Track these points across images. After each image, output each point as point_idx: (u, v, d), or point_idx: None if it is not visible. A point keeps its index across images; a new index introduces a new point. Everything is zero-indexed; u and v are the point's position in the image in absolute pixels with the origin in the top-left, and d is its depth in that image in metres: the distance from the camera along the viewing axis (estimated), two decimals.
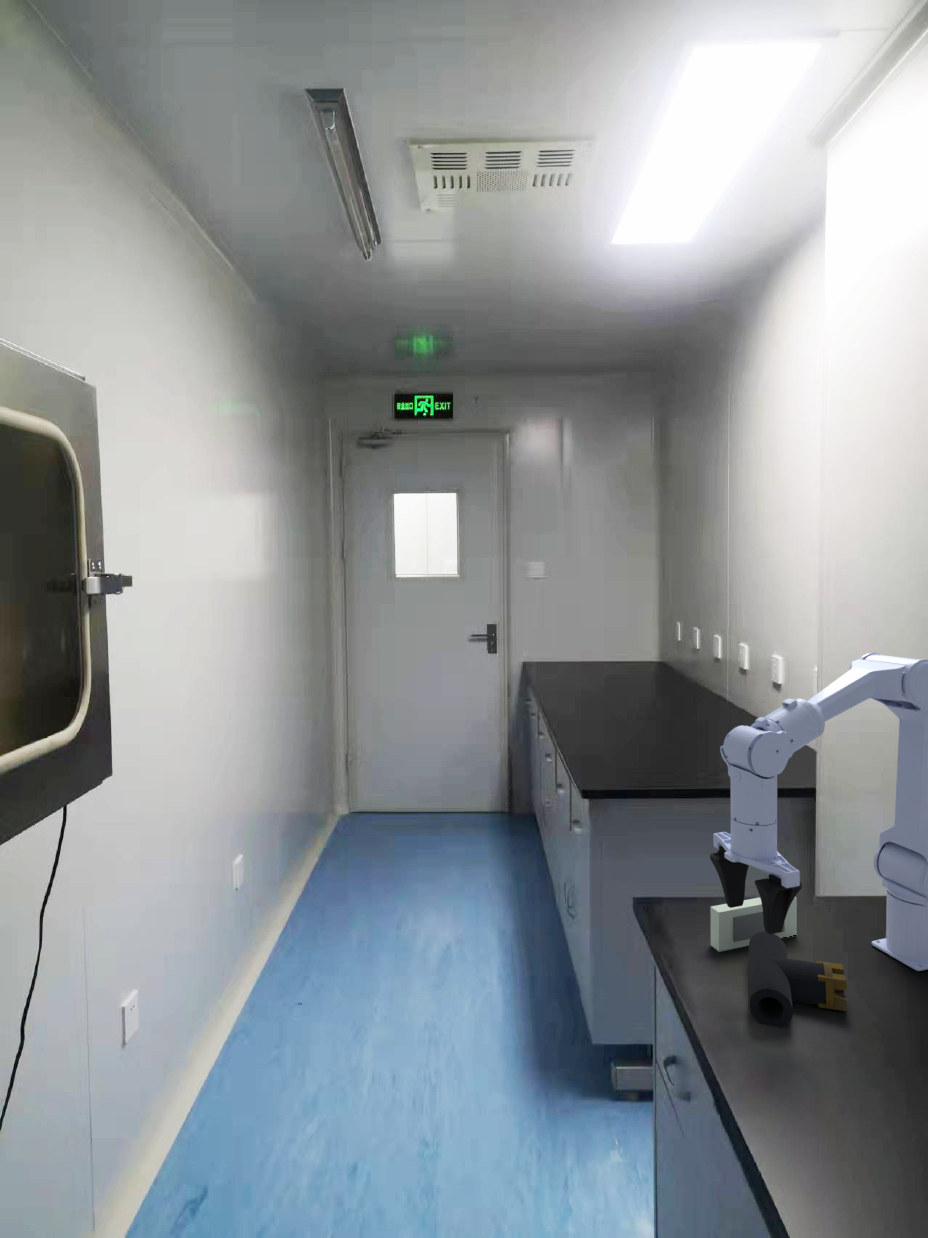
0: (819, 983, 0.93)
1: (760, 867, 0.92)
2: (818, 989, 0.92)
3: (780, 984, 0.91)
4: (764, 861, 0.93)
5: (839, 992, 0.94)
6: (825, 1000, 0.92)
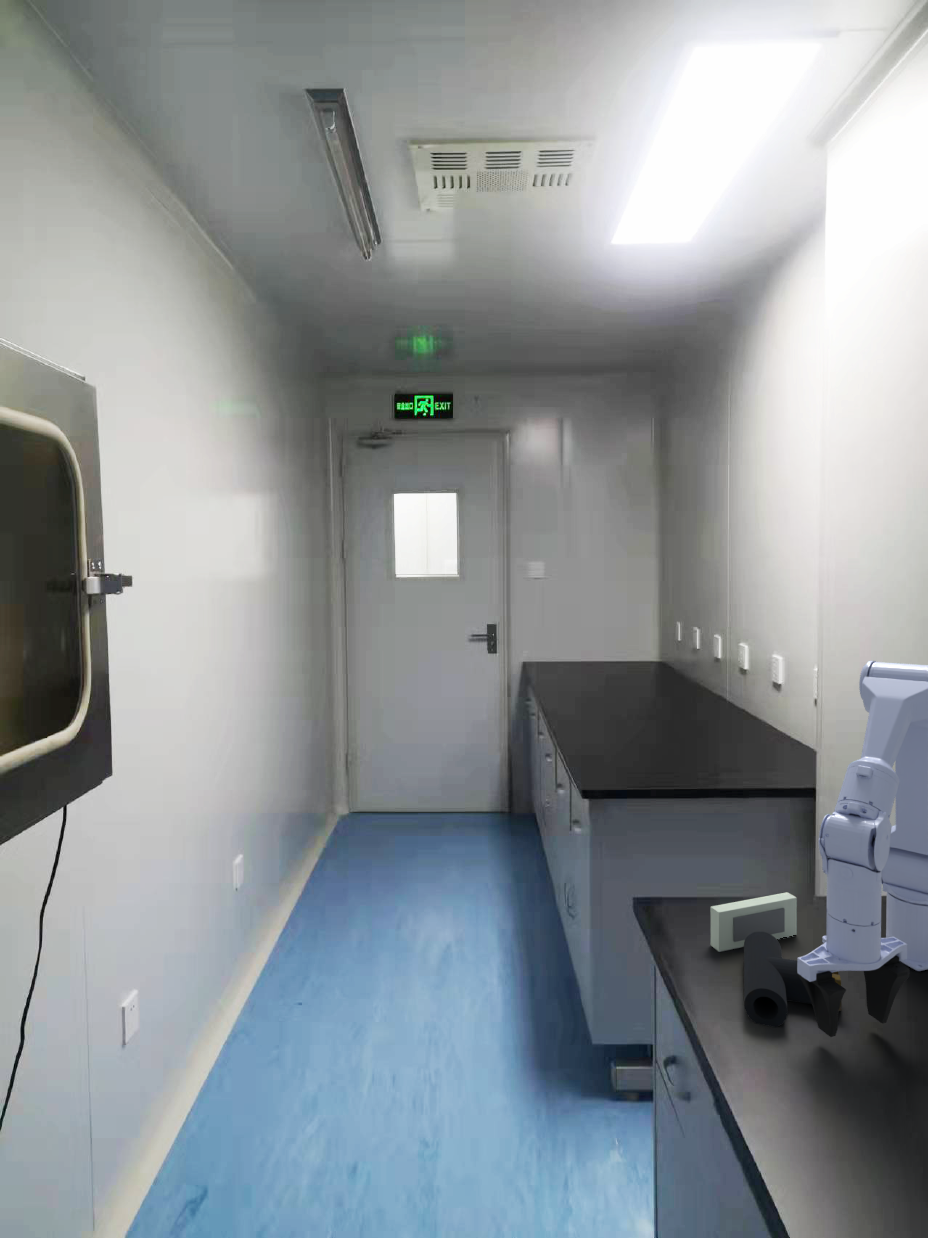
0: None
1: (815, 952, 0.87)
2: None
3: (775, 983, 0.91)
4: (828, 953, 0.86)
5: None
6: None
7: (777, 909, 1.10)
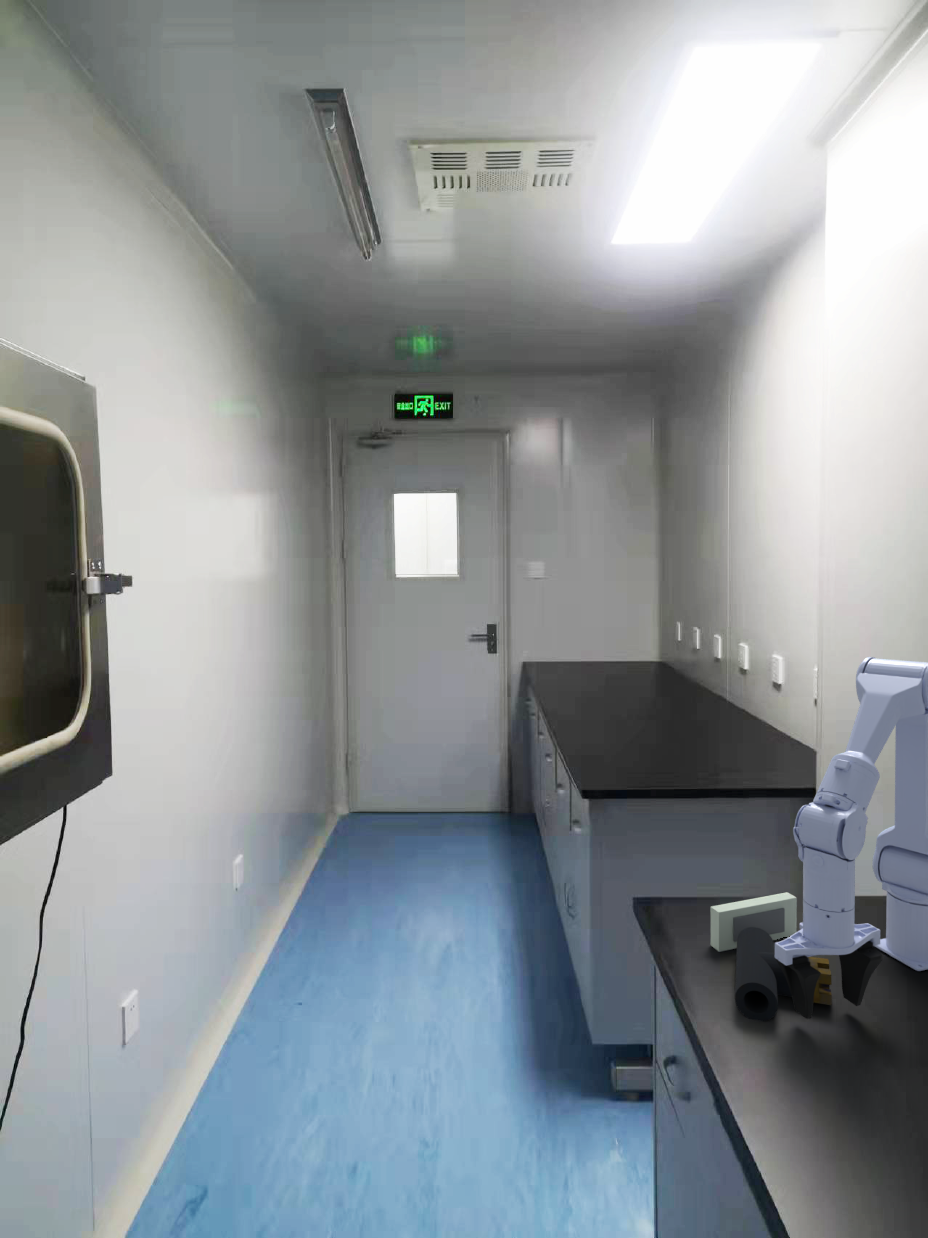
0: None
1: None
2: None
3: (765, 978, 0.92)
4: (804, 939, 0.90)
5: (825, 986, 0.96)
6: None
7: (777, 909, 1.10)
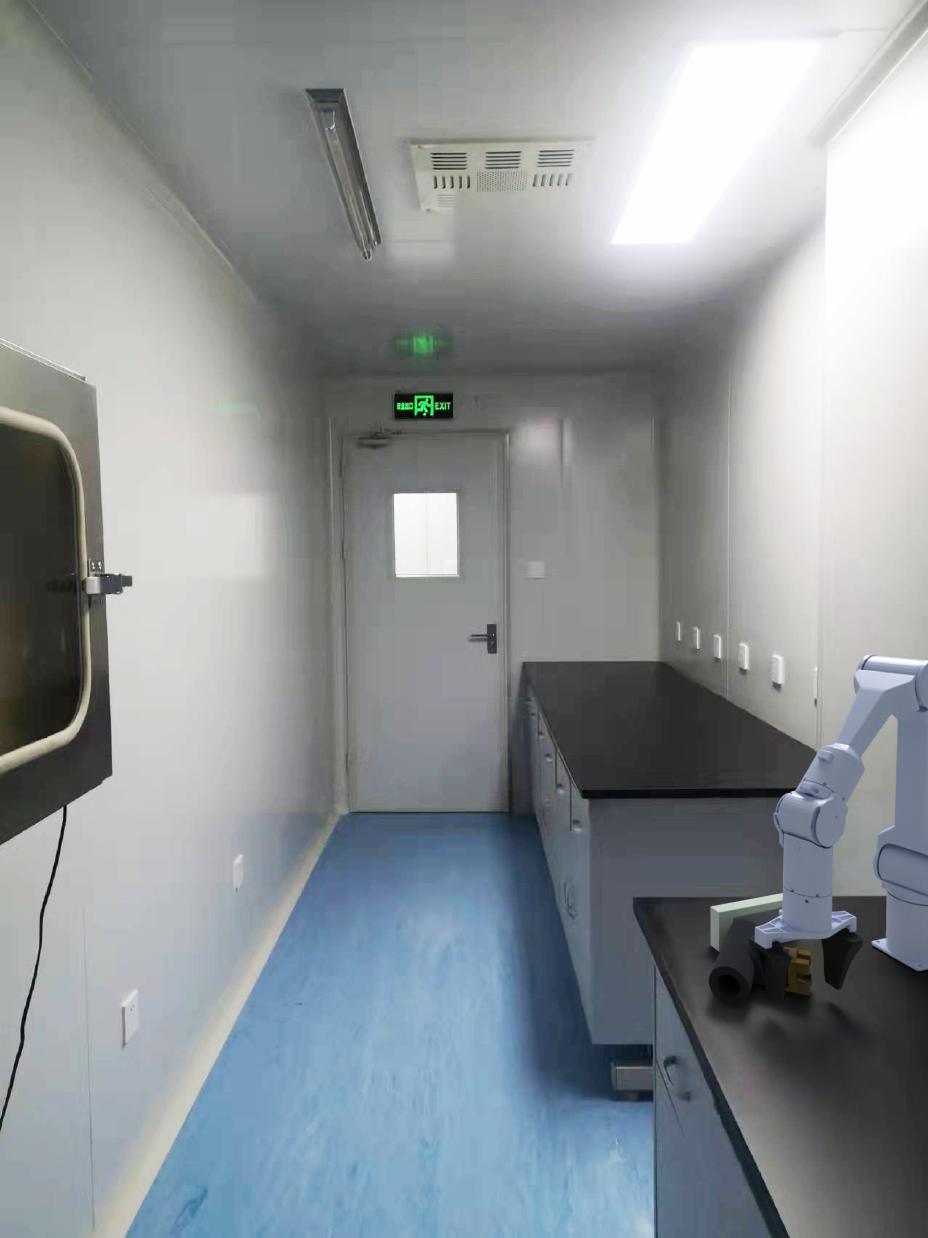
0: None
1: (772, 923, 0.93)
2: None
3: (740, 963, 0.95)
4: (783, 924, 0.92)
5: (806, 978, 0.96)
6: (788, 983, 0.95)
7: (777, 909, 1.10)
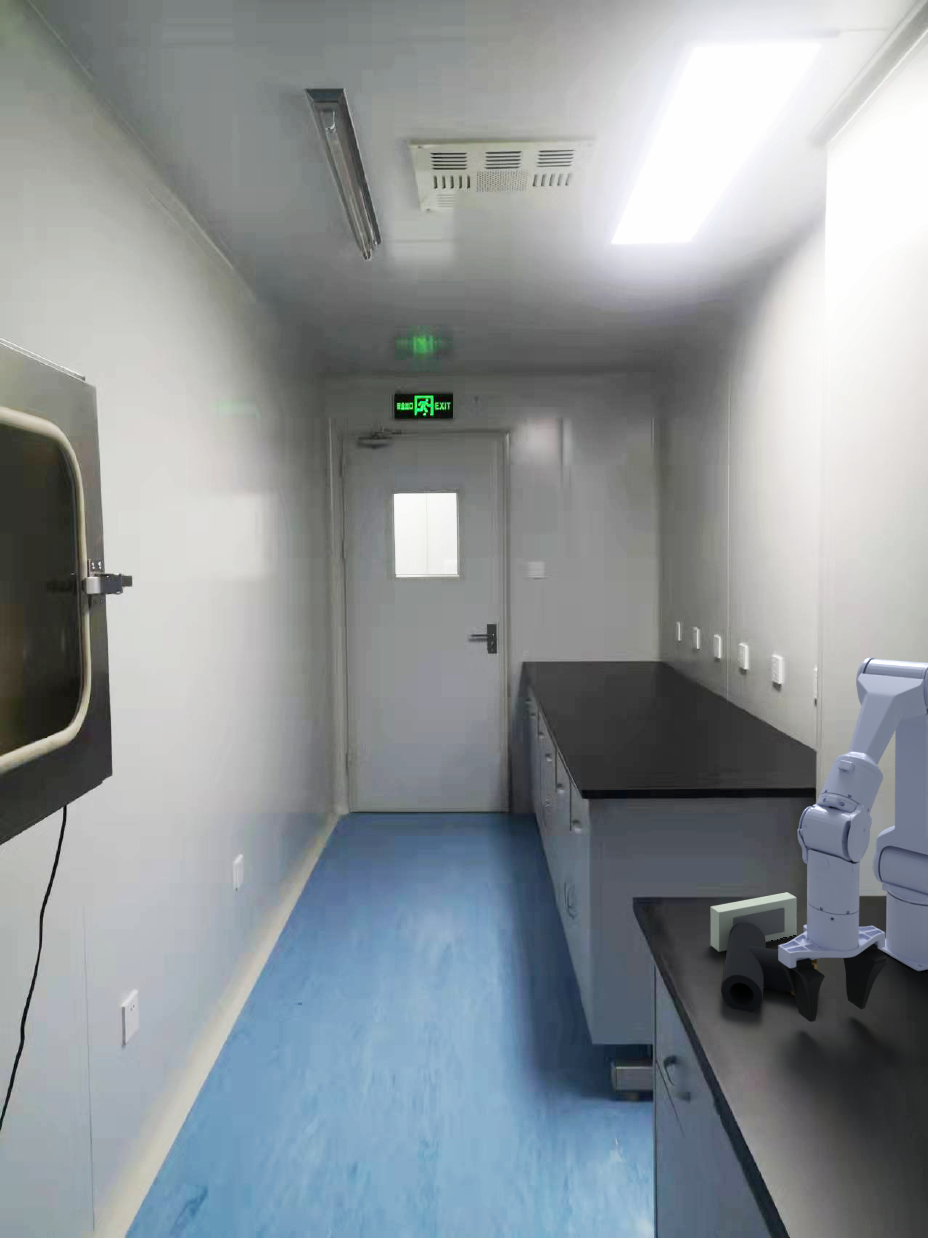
0: None
1: (796, 940, 0.90)
2: None
3: (751, 971, 0.94)
4: (808, 941, 0.89)
5: None
6: None
7: (777, 909, 1.10)
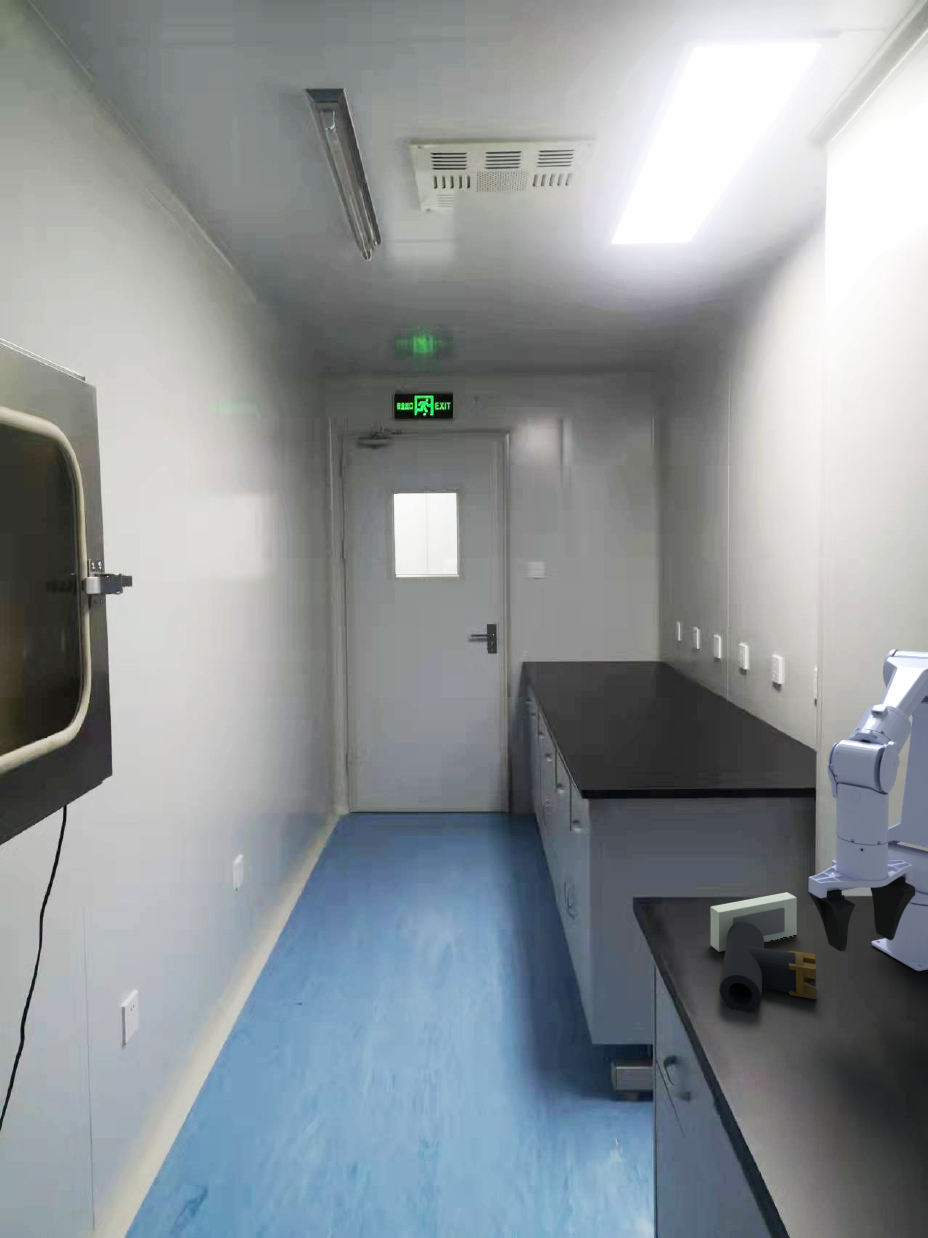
0: (790, 971, 0.95)
1: None
2: (788, 977, 0.95)
3: (750, 971, 0.94)
4: (837, 873, 0.91)
5: (811, 981, 0.97)
6: (795, 988, 0.95)
7: (777, 909, 1.10)
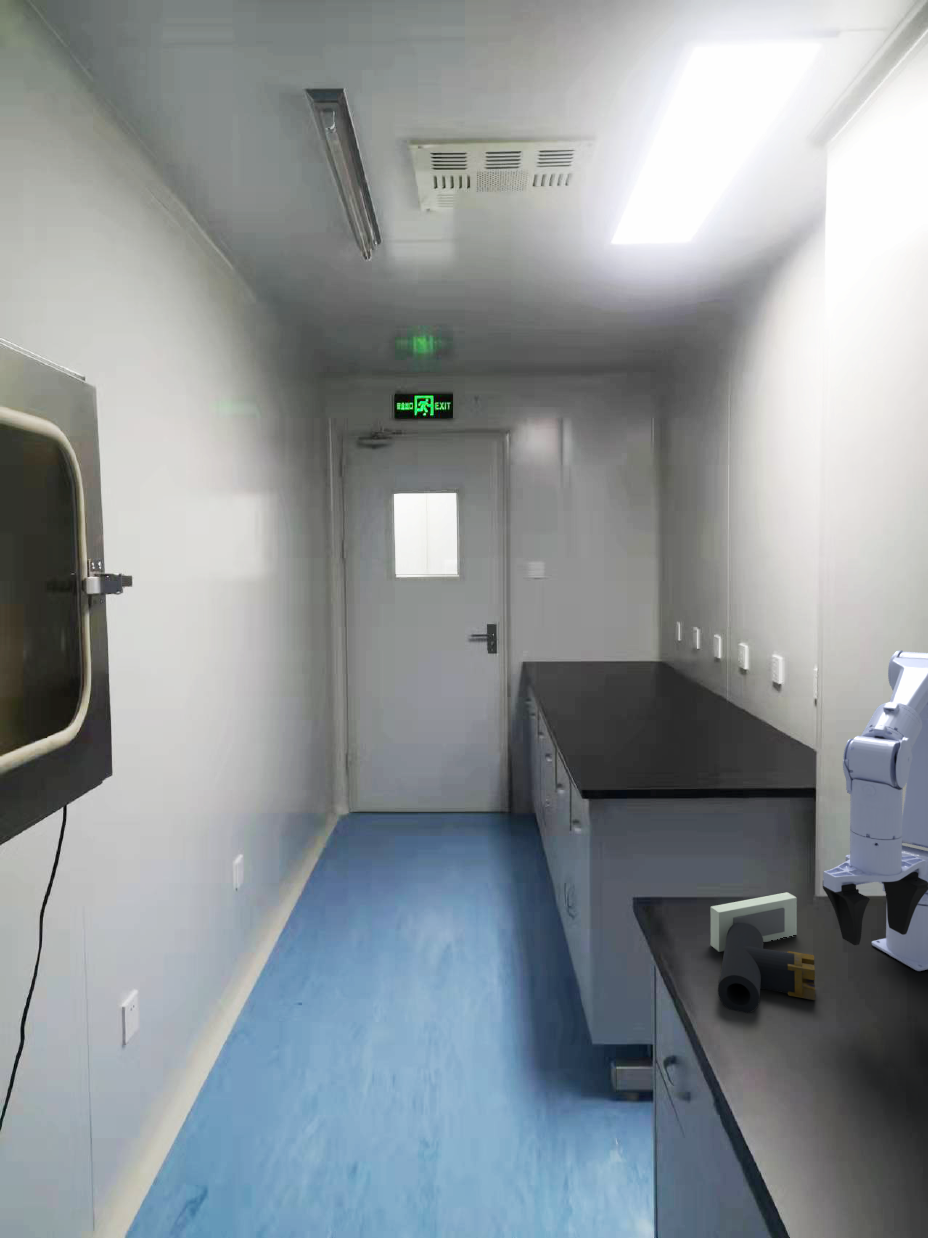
0: (788, 972, 0.95)
1: (840, 868, 0.93)
2: (787, 978, 0.95)
3: (748, 971, 0.94)
4: (851, 868, 0.92)
5: (810, 982, 0.97)
6: (794, 989, 0.95)
7: (777, 909, 1.10)
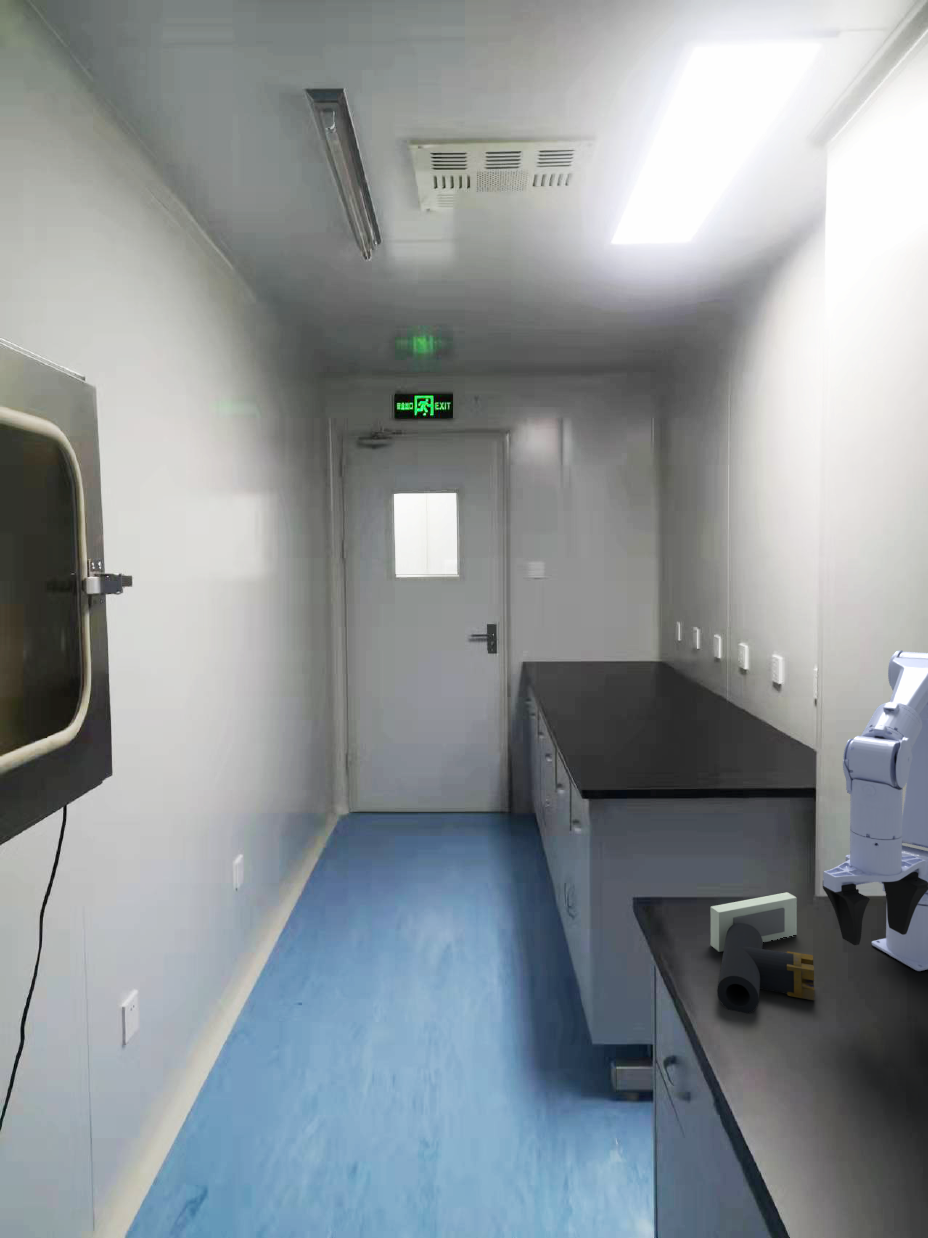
0: (788, 972, 0.95)
1: (840, 868, 0.93)
2: (786, 978, 0.95)
3: (748, 972, 0.94)
4: (851, 868, 0.92)
5: (809, 982, 0.97)
6: (793, 989, 0.95)
7: (777, 909, 1.10)
